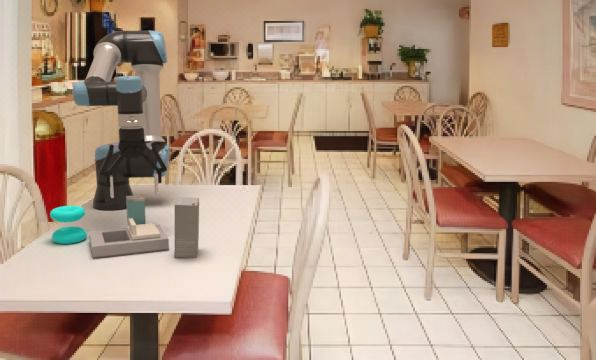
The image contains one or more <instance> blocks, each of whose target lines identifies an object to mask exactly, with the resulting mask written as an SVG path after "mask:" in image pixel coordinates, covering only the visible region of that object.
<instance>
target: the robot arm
mask: <svg viewBox="0 0 596 360" xmlns="http://www.w3.org/2000/svg"><path fill="white" fill-rule="evenodd" d="M122 63H123V64H125V63H126V64H128V63H129V64H130V67H131V69H132V70H133V71H134V72H135V75H132V76H131V75H127V76H125V75H124V76H121V75H120V76H118V77H116V79H115V80H116V81H112V78H113V75H114V72H115V68H116V67H117V66H118V65H119V64H122ZM166 63H168V54H167V47H166V42H165V39H164V34H163V33H162V32H161V31H158V30H150V29H149V30H116V31H113V32H110V33H109V34H106V35H105V36H103V38H101V39H100V40H99V41H98V42H97V43H96V45H95V46H94V49H93V60H92V62H91V65H90V66H89V70H88V72H87V75H86V77H85V80H84V81H77V82H75V83H74V84H73V85H72V97H73V101H74V104H75V105H77V106H79V107H81V106H82V107H104V106H105V107H108V106H110V107H111V106H113V107H115V106H117V119H118V120H117V125H118V127H119V129H118V142H112V143H111V142H110V143H107V144H102V145H100V146H98V147H96V148H95V150H94V163H95V176H96V177H95V178H96V189H95V193H94V195H93V199H92V206H93V208H94V209H96V210H99V211H100V210H101V211H115V210H116V211H117V210H123V209H127V206H126V196H135V194H134V192H133V190H132V187H131V185H130V178H132V179H134V178H143V179H144V178H154V193H155V195H160V193H159V192H160V190H159V184H162V181H163V179H162V177H165V176H166V175H167V172H168V169H169V162H170V146H169V145H166V140H165V139H164V138H163V137H162V125H161V124H162V123H161V121H162V120H161V90H160V89H161V88H160V87H161V86H160V85H161V84H160V79H161V78H160V72H161V71H162V70H164V64H166Z"/></svg>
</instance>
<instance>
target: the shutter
mask: <svg viewBox="0 0 596 360" xmlns="http://www.w3.org/2000/svg"><path fill="white" fill-rule="evenodd" d="M155 225H156V224H155V223H154V222H153V223H151V222H150V223H146V224H140V225H136V224H135V222H134V220H133V218H130V219H129V226H128V225H127V226H126V228H127V229H128V232H129V234H130V236H131V238H132V240H136V239H145V238H155V237H160V232H159V231H158V229H157V228H156V226H155Z"/></svg>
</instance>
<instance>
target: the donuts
mask: <svg viewBox="0 0 596 360" xmlns="http://www.w3.org/2000/svg"><path fill="white" fill-rule="evenodd" d="M85 215H86V210H85V209H84V207H82V206H79V205H63V206H62V205H61V206H59V207H55V208H53V209H52V210H50V213H49V216H50V218H51V219H52V220H53V221H54V222H57V223H73V222H77V221H79V220H81V219H82V218H83V217H85ZM87 234H88V233H87V230H85V229H84V228H82V227H80V226H65V227H60V228H58V229H57V230H54V231H53V233H52V236H51V239H52V241H53V242H54V243H56V244H61V245H69V244H70V245H71V244H76V243H80V242H83V241H84V240H85V239H86V238H87Z"/></svg>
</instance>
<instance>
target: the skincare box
mask: <svg viewBox="0 0 596 360" xmlns="http://www.w3.org/2000/svg"><path fill="white" fill-rule="evenodd" d="M199 225H200V198H199V197H189V196H187V197H186V196H185V197H184V196H178V197H177V198H176V200H175V202H174V251H173V254H174V255H173V256H174V258H178V259H179V258H180V259H181V258H187V259H188V258H189V259H191V258H193V259H194V258H198V253H199V239H200V236H199V234H200V233H199V232H200V231H199V230H200V227H199Z"/></svg>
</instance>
